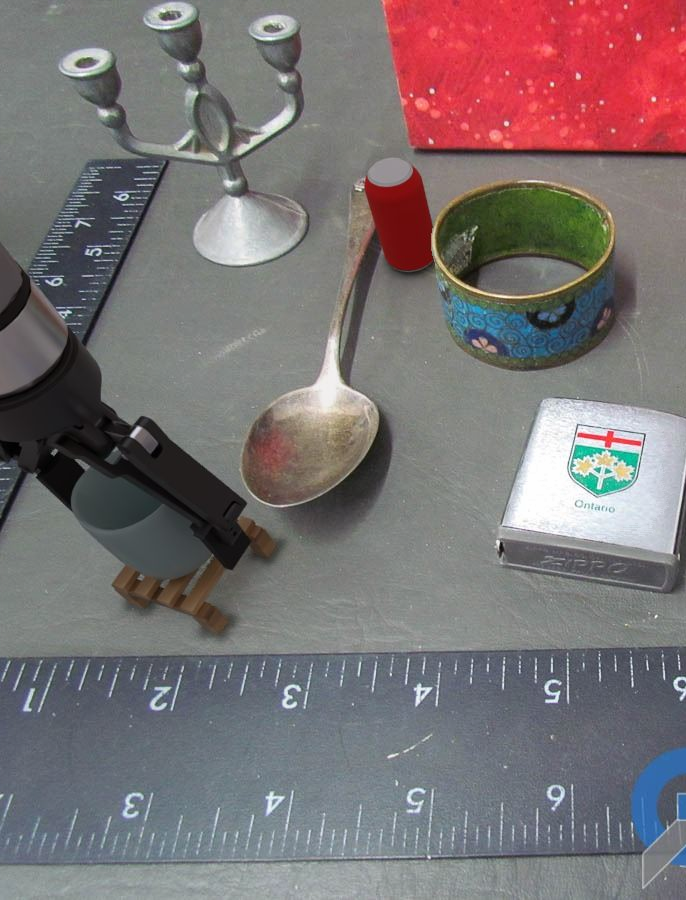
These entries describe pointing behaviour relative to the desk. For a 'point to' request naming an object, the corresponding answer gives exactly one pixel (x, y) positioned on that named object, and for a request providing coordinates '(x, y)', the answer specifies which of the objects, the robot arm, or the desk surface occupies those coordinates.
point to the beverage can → (400, 213)
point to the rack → (172, 594)
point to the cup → (136, 526)
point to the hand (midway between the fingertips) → (165, 531)
